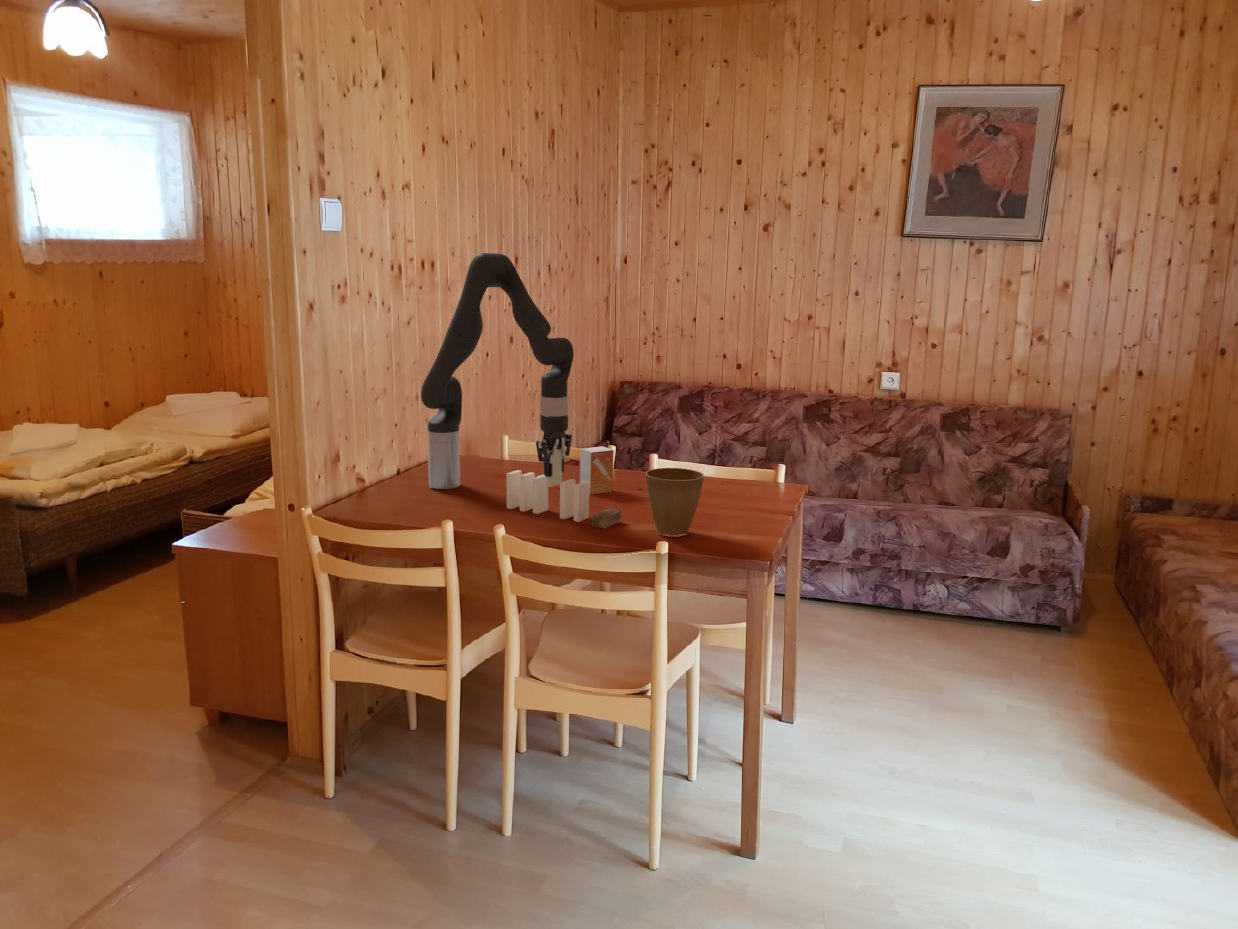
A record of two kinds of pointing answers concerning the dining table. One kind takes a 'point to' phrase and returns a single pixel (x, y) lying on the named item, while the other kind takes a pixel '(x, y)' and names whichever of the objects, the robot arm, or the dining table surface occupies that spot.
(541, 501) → the domino
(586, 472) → the small box
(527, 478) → the domino
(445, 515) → the dining table surface
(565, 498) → the domino
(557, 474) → the domino
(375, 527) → the dining table surface
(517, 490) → the domino
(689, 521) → the plant pot
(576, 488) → the domino
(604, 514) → the stop block
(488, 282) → the robot arm
